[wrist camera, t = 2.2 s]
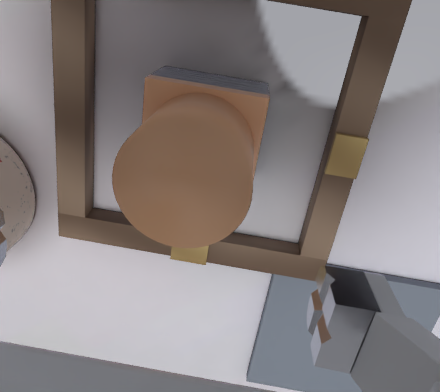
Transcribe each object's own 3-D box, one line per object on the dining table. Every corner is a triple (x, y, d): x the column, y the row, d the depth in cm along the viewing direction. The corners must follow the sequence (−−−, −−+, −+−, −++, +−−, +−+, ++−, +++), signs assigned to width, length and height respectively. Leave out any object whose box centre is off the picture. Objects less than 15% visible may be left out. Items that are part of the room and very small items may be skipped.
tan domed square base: (149, 74, 16) (108, 98, 12) (269, 94, 16) (273, 126, 12) (141, 197, 19) (104, 255, 14) (244, 215, 19) (240, 280, 14)
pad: (277, 255, 23) (277, 260, 22) (447, 285, 23) (451, 291, 22) (246, 373, 27) (246, 381, 27) (389, 399, 27) (392, 407, 26)
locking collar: (61, -74, 17) (44, -82, 15) (407, -17, 17) (420, -20, 15) (68, 225, 23) (56, 238, 22) (317, 269, 23) (320, 285, 22)
